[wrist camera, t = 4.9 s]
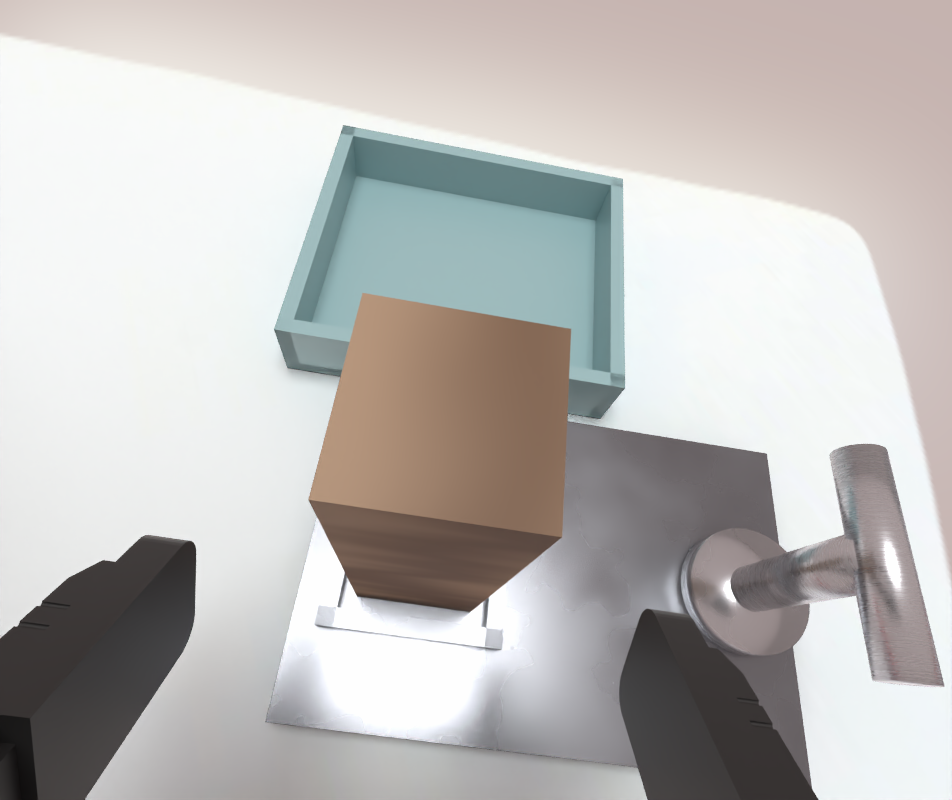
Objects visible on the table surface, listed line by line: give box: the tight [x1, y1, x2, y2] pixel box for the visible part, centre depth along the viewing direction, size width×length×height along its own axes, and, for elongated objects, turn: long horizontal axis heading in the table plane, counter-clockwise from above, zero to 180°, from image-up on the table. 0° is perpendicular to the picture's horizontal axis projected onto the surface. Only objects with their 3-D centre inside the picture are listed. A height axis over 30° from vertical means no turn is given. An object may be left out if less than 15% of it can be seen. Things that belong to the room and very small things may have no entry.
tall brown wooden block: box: [309, 293, 571, 612], centre depth 15 cm, size 4×4×12 cm
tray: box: [274, 125, 625, 418], centre depth 26 cm, size 14×12×3 cm
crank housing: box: [266, 421, 944, 788], centre depth 18 cm, size 18×12×9 cm, turn 83°
